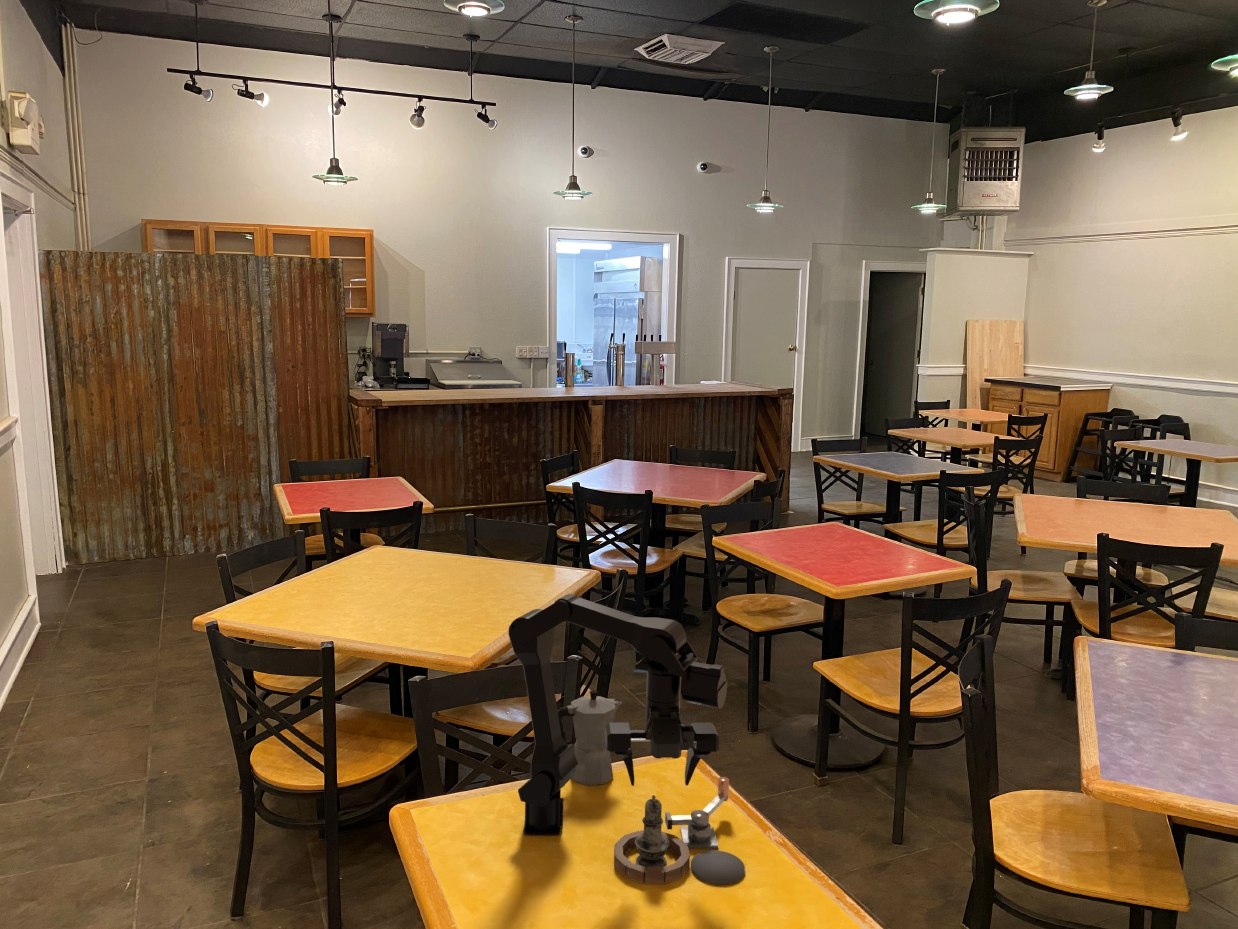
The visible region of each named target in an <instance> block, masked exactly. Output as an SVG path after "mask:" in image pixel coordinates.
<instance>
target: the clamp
mask: <svg viewBox="0 0 1238 929" xmlns="http://www.w3.org/2000/svg"><path fill="white" fill-rule="evenodd" d="M729 789H730V779H729V777H727V776H721V777H718V781H717V795H716V796H715V798H713V799H712V800H711V801H710V802H709V803H708V804H707V806H705V807H704V808H703V809H695V810H693V811H691V813H690V814H689V815H688V814H687V815H686V814H685V815H682V814H681V815H671V812H670V811H665V812H664V813H665V814H664V824H665V826H666V829H667V830H673V826H688V825H691V826H692V827H693V828H696V829H705V828H707V827H708V826H709V824H710V820H709V819H710V817H711V815H712V814H713V813H714V812H715V811H716V810H718V808H719V807H720V806H722V804H723V803H724V802H727V801H728V800H729V794H730V793H729V792H730V791H729Z"/></svg>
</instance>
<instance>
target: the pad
mask: <svg viewBox="0 0 1238 929" xmlns="http://www.w3.org/2000/svg"><path fill="white" fill-rule="evenodd" d="M690 870H691V872H692V874H693V875H694V876H695V877H696V878H698V879H699V880H701V881H702V882H704V883H706V884H710V885H717V886H727V885H732V884H735V883H737V882H739V881H741V880H742V879H743V877H744V876H745V873H746V872H745V871H746V867H745V864H744V862H743V861H742V859H741V858H739V857H738V856H736V855H735V854H732V853H730V852H727V851H724V850H717V849H709V850H704V851H701V852H699V853H697V854H695V855H694V856H693V857H692V859H690Z"/></svg>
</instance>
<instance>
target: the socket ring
mask: <svg viewBox="0 0 1238 929" xmlns="http://www.w3.org/2000/svg"><path fill="white" fill-rule="evenodd" d="M643 832H644V829H640V830H636V831H633V832H630V833H625V834H624V835H623V836H621V838H619V840H617V842H615V844H614V846H613V848H614V850H613V859H614V860H613V861H614V862H613V863H614V869H616V870H617V871H618V872H619V873H620V874H621V875H622V876H623V877H624V878H626V879H629V880H631V881H634V882H638V883H641V884H645V885H664V884H668V883H671V882H674V881H677V880H680V879H682V878H683V877H684V876H685V874H686V873H687V872H688V870H689V869H690V867H691V854H690V850H689V849H688V846H687V844H686V843H684V842H683V841H682V838H681V839H680V837H678V836H677V835H674V834H672V833H669V832H665V831H662V830H661V834H662V835H663V836H665V837H666V838H667V839H668V840H669V847H668V848H667V850H670V851H671V853H673V854H675V856H677V857H678V858H677V859H676V861H675V862H673V863H671V864H668V865H666V866H665V867H643V866H640V865H637V864H636V863H634V862H632V861H631V860H629V859H628V858H627V857H626V856H625V854H627V853H628V851H629V850H632V849H635V848H637V846H636V845H635V839H636V838H637V836H639V835H641V834H643Z"/></svg>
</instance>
